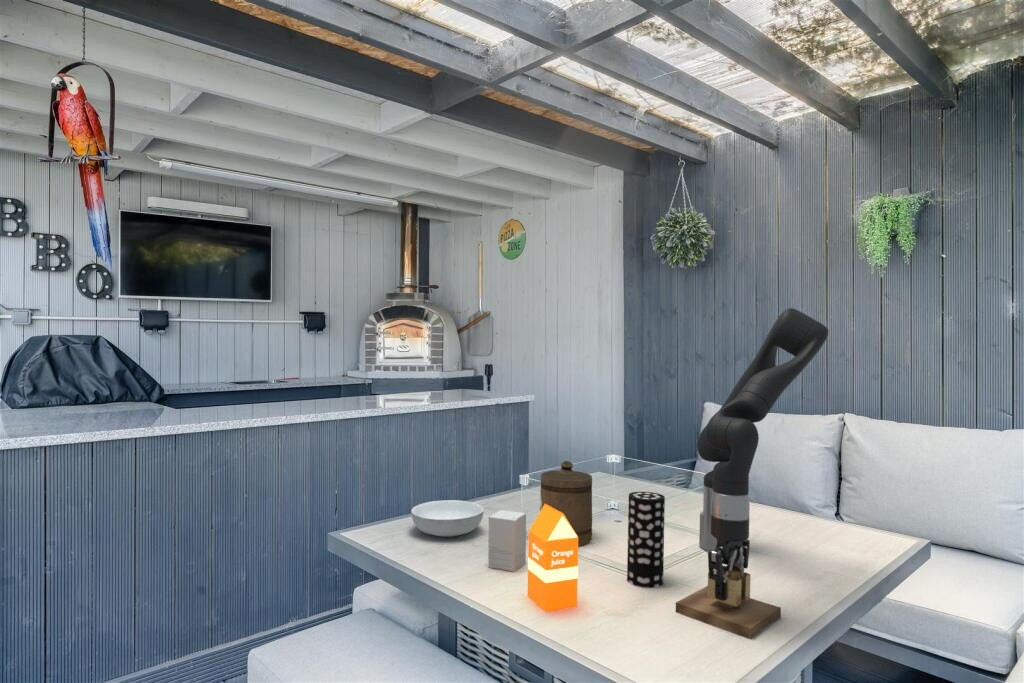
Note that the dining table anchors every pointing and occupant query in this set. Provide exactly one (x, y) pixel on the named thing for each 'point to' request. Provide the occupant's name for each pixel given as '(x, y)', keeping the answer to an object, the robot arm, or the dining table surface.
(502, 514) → the supplement box
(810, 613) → the dining table surface
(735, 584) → the slotted square frame
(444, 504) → the serving bowl
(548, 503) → the wooden container
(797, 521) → the dining table surface
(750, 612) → the shaft stand
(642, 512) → the spotted tube
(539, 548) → the orange juice
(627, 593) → the dining table surface
